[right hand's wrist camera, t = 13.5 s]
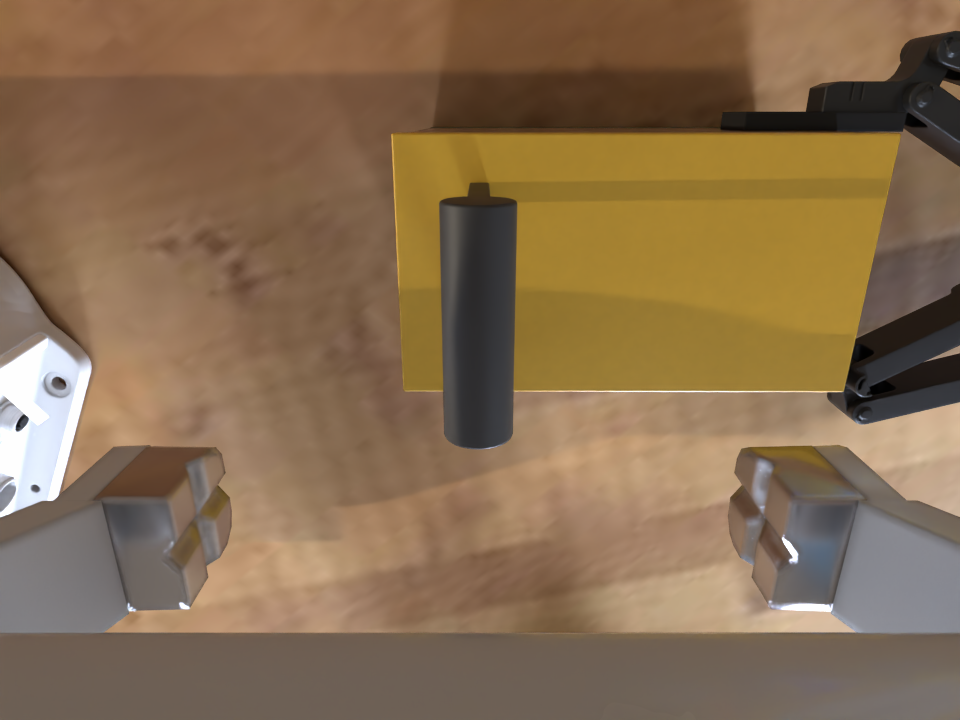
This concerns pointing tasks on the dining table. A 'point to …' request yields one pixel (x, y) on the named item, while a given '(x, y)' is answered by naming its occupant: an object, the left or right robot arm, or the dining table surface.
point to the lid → (630, 263)
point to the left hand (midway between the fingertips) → (716, 244)
